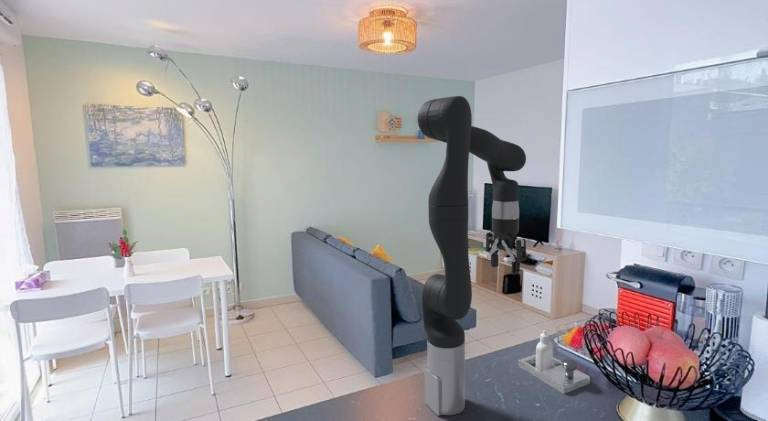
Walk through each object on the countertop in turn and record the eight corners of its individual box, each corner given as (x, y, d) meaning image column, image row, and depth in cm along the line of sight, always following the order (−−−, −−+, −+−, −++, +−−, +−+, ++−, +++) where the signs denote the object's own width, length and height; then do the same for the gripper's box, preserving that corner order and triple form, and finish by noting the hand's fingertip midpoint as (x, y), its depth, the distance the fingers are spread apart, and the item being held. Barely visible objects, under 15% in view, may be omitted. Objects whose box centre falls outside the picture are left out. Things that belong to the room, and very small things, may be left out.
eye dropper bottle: (557, 372, 115) (558, 332, 114) (538, 374, 115) (539, 334, 113) (548, 365, 120) (549, 326, 118) (531, 366, 119) (531, 328, 117)
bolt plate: (563, 394, 105) (564, 371, 104) (518, 366, 119) (518, 346, 119) (589, 383, 110) (590, 362, 109) (543, 357, 124) (543, 338, 123)
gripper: (479, 214, 122) (479, 266, 124) (513, 220, 109) (512, 278, 112) (498, 212, 125) (498, 263, 128) (533, 217, 113) (532, 274, 115)
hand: (504, 270), depth 120 cm, fingers open, 8 cm apart
